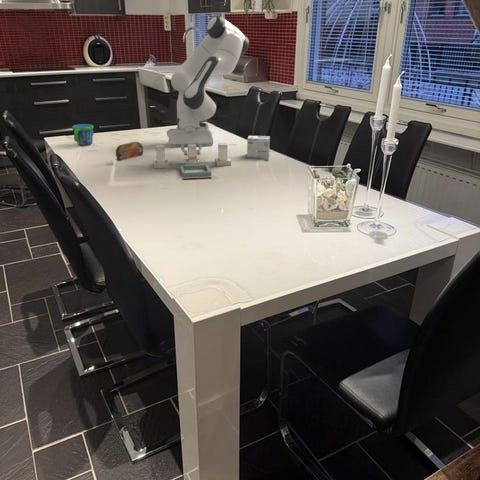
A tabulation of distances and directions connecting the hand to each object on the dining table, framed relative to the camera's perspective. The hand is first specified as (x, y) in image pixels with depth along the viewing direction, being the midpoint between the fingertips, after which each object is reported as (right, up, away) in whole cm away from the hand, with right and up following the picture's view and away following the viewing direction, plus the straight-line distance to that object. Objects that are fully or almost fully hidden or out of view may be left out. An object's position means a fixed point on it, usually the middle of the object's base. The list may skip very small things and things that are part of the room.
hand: (192, 154), depth 208 cm
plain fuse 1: (-14, -5, 0) cm, 15 cm away
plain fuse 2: (+14, -3, +5) cm, 15 cm away
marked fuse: (0, -4, +3) cm, 5 cm away
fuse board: (0, -6, +3) cm, 6 cm away
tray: (+2, -10, -7) cm, 13 cm away
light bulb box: (+30, +1, +20) cm, 36 cm away
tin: (-31, 0, +14) cm, 34 cm away
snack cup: (-62, +13, +42) cm, 76 cm away
